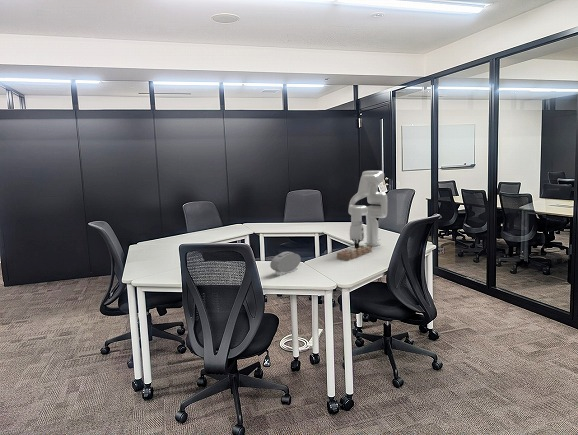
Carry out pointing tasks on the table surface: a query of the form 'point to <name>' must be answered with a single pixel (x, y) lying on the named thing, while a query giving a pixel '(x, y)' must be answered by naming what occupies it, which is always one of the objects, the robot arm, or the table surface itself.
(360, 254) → the console
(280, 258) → the alarm clock
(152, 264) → the table surface
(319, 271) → the table surface
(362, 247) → the sage key
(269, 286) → the table surface
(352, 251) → the cream key
